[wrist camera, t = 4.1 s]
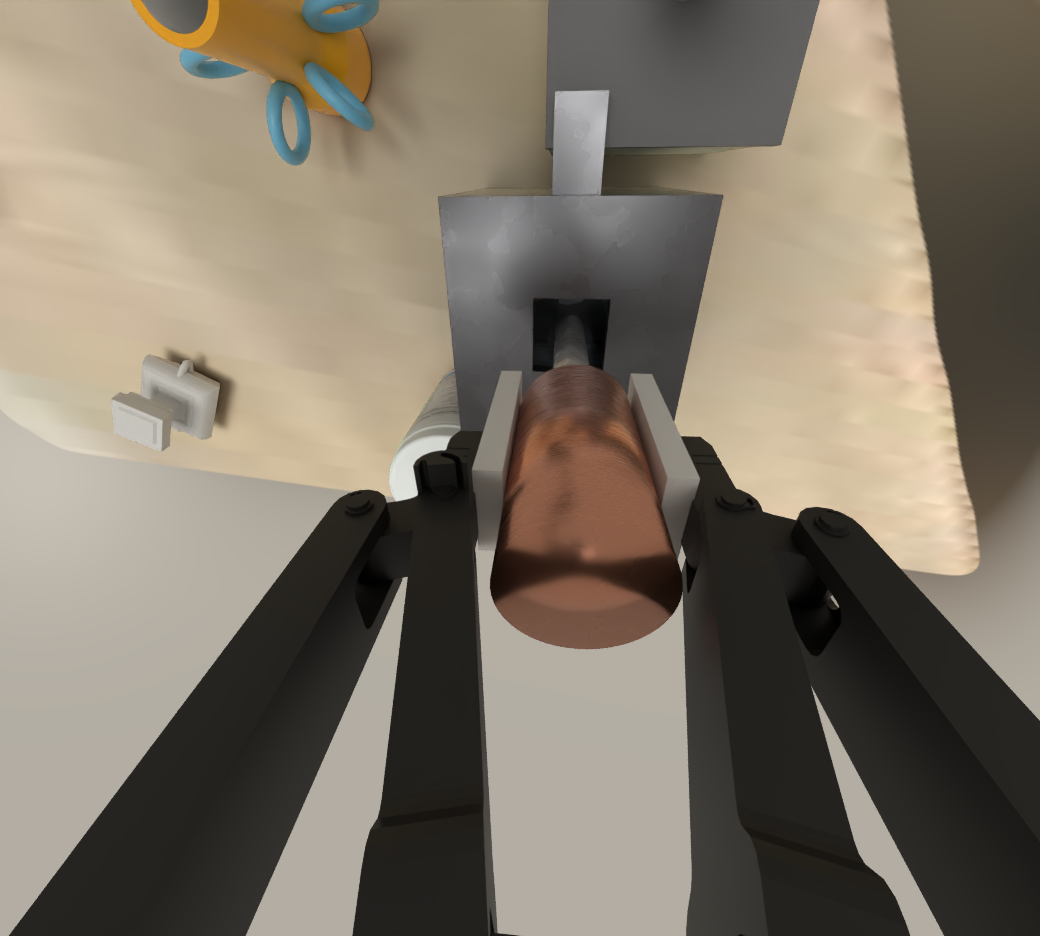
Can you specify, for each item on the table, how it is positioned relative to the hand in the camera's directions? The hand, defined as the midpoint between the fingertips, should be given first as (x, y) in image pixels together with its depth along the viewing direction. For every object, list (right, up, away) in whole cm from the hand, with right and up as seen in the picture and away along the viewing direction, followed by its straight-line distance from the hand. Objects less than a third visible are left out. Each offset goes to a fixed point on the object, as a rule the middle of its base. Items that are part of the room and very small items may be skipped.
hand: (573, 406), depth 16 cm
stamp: (-36, +6, +29) cm, 47 cm away
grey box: (+2, +15, +19) cm, 25 cm away
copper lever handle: (+1, +6, +8) cm, 10 cm away
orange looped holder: (-15, +26, +14) cm, 33 cm away
